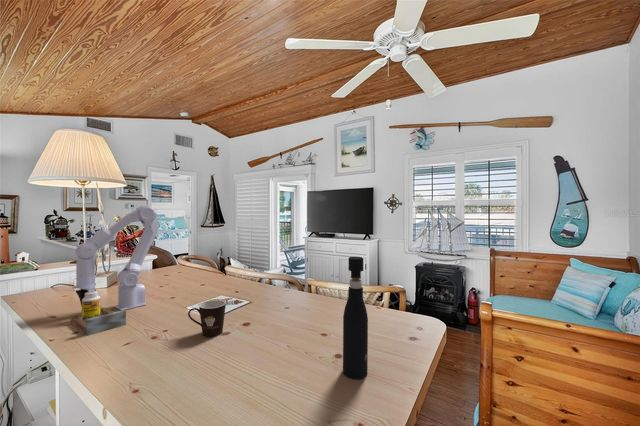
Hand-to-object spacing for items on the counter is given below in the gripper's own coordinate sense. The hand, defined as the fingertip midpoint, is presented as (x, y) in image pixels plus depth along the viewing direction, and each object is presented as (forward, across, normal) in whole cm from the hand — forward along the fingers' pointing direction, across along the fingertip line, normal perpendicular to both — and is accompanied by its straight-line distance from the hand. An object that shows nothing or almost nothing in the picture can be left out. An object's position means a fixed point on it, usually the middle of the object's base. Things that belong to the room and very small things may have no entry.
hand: (85, 307), depth 112 cm
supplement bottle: (+3, +6, 0) cm, 7 cm away
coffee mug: (+3, +54, +20) cm, 57 cm away
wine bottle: (+3, +105, +29) cm, 109 cm away
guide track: (+3, +13, 0) cm, 13 cm away
